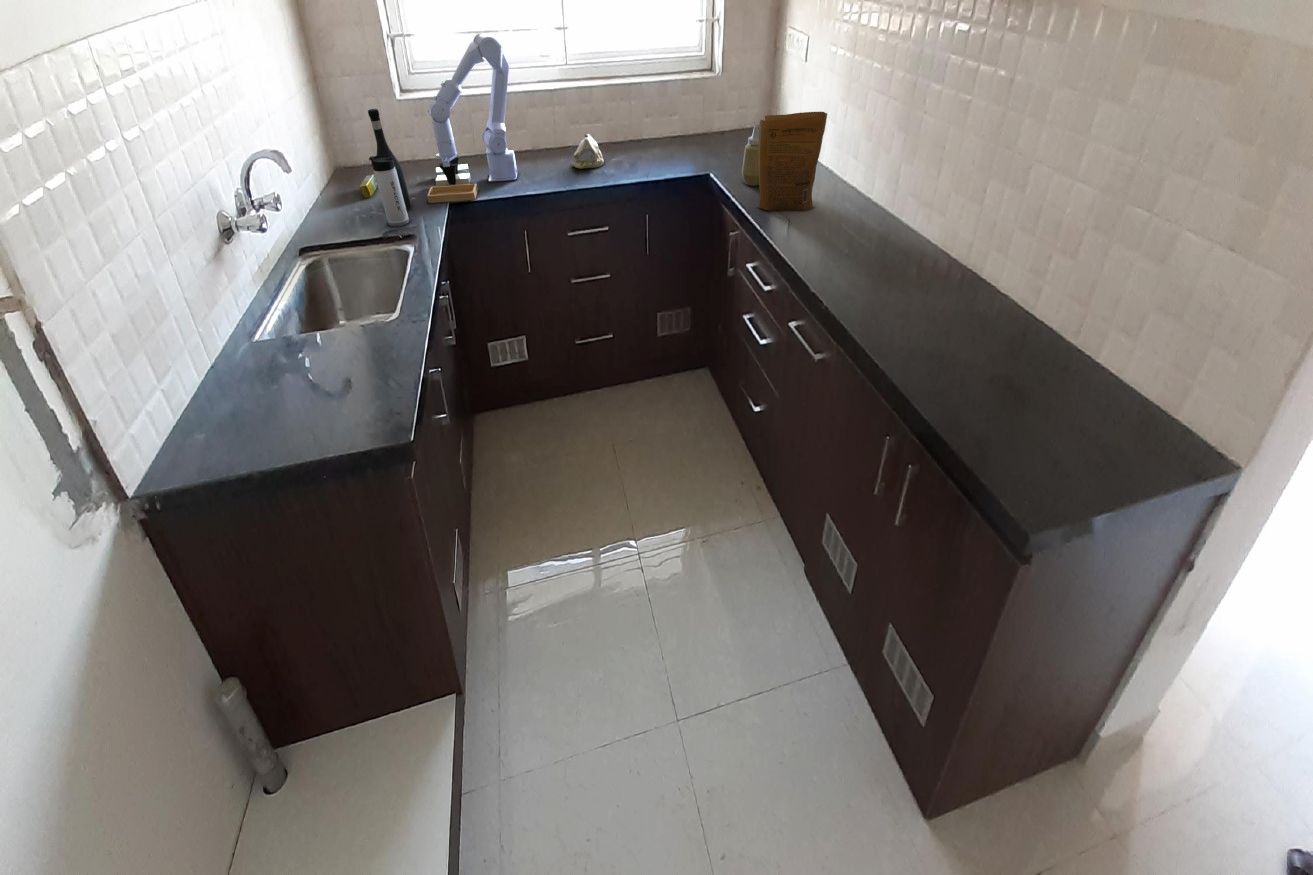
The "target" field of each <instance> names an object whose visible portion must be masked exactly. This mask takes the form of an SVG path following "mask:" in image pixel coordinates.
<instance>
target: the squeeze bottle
mask: <svg viewBox="0 0 1313 875" xmlns="http://www.w3.org/2000/svg"><path fill="white" fill-rule="evenodd" d="M758 144H759V125H754V126H753V130H752V135H751V136H749V137H748V139H747V144H746V145H745V146H744V152H743V160H742V166H741V175H742V179H743V182H744V184H745V185H747V186H753V187H754V186H755V187H756V186H759V164H758V160H759V156H758Z"/></svg>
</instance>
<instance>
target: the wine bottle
mask: <svg viewBox="0 0 1313 875" xmlns="http://www.w3.org/2000/svg"><path fill="white" fill-rule="evenodd" d="M367 114H368V118H369V120H370V123H371V127H372V130H373V133H374V138H375V141H376V155H375V156H381V155H383V156H390V157H392V159H393V162H394V165H395V169H396V172H397V176H398V180H399V184H400V188H401V191H402V195H403V199H404V203H405V207H406V210H407V211H408V210H409V209H411V207H412V203H411V198H410V194H409V190H408V187H407V182H406V178H405V175H404V172H403V171H404V170H403V169H402V166H401V164H400V162H399V160H398V159H397V157H396V155H395V154H394V152H392V150H391V148H390V146H389V145H388V142H387V141H386V140H387V139H386V138H385V133H384V130H383V126H382V122H381V117H380V111H379V109H378V108H370V109H368V110H367Z"/></svg>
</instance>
